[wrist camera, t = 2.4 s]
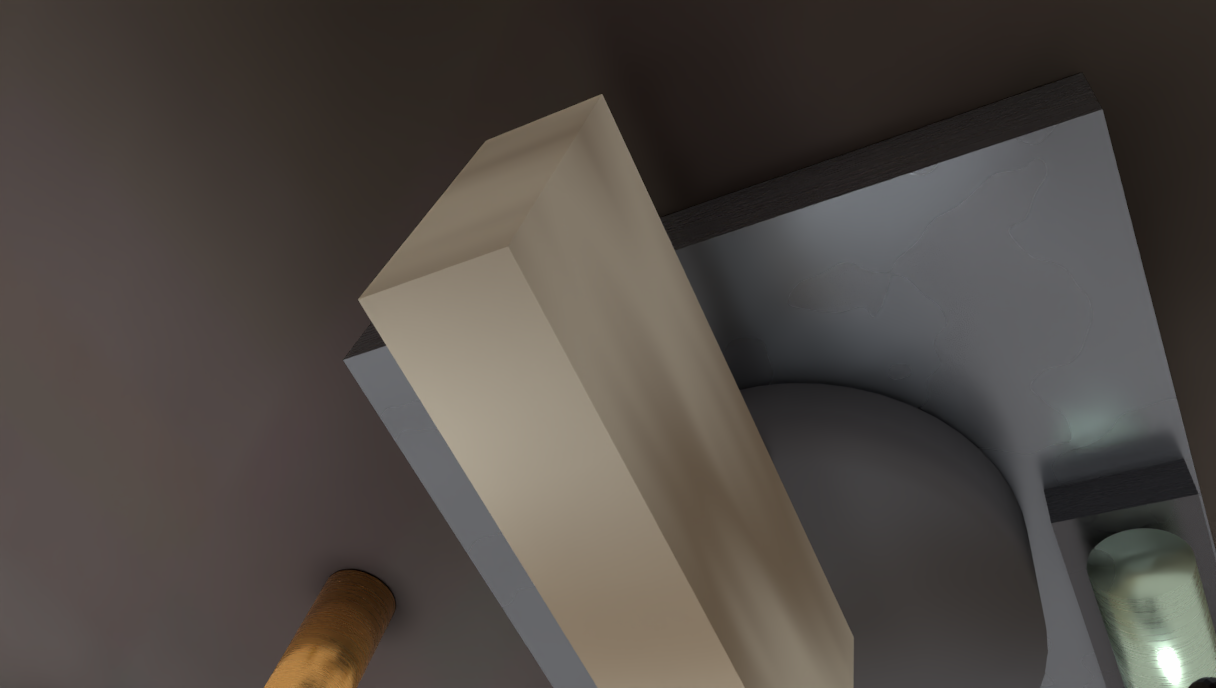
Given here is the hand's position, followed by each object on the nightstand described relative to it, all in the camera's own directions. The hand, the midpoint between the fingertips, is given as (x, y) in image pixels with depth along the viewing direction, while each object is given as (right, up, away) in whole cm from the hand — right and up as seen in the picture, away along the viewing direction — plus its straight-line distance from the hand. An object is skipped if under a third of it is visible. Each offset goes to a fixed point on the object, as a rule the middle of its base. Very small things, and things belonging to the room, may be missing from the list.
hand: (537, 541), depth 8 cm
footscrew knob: (+3, 0, +9) cm, 10 cm away
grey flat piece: (+2, -2, +13) cm, 13 cm away
